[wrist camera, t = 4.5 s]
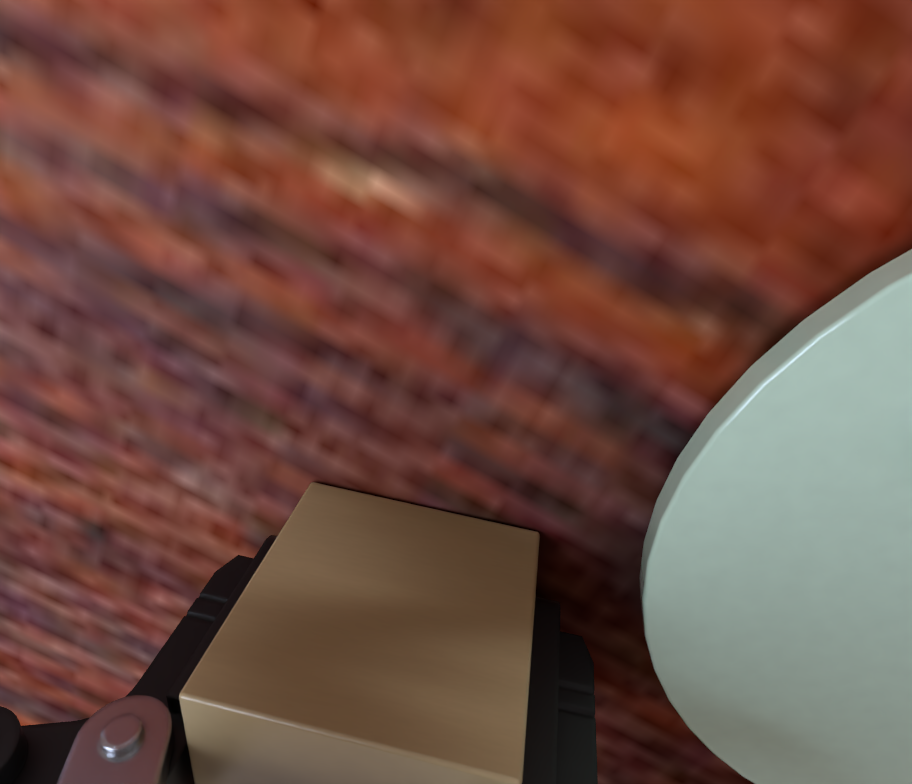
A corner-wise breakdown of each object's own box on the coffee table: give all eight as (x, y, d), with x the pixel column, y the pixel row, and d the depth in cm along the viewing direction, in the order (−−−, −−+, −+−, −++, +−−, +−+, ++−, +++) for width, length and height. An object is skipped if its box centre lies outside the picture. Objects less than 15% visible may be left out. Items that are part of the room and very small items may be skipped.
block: (540, 530, 11) (523, 785, 7) (500, 677, 13) (470, 930, 9) (310, 480, 11) (176, 695, 8) (309, 631, 14) (206, 855, 10)
